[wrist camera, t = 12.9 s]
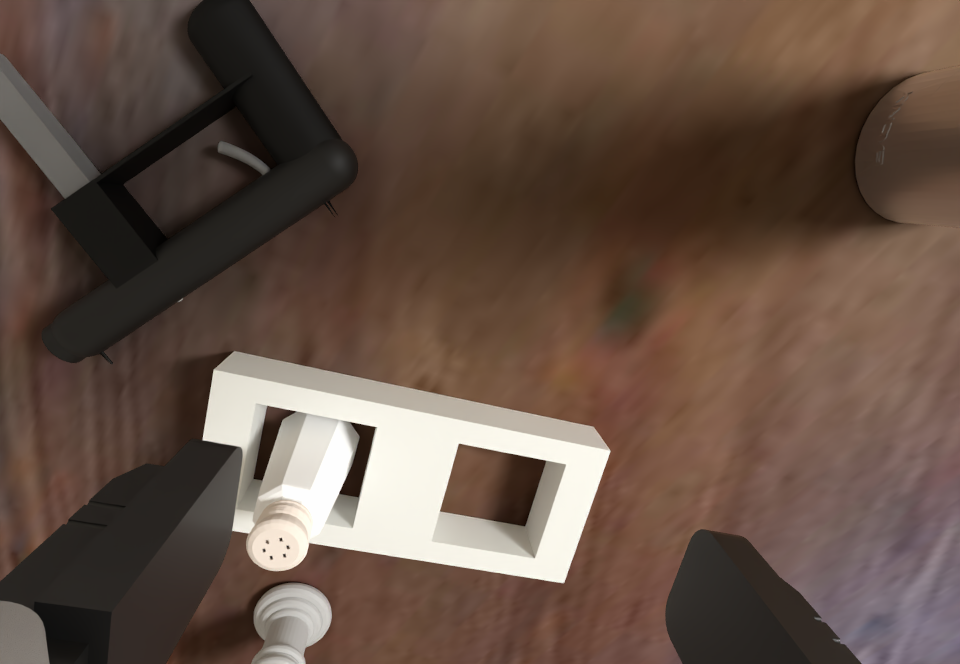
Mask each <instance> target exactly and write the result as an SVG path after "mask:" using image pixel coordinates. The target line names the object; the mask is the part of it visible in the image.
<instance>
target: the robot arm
mask: <svg viewBox="0 0 960 664" xmlns="http://www.w3.org/2000/svg"><path fill="white" fill-rule="evenodd" d="M855 171H856V179H857V183H858V186H859V190H860V192H861V194H862V196H863V197H864V199H865V201H866V203H867V204H868V205H869V206H870V207H871V208H872V209H873V210H874V211H875V212H876V213H877V214H879V215H881V216H882V217H884V218H886V219H888V220H892V221H895V222H898V223H909V224H921V225H933V226H944V227H955V228H960V65H958V66H953V67H948V68H944V69H939V70H935V71H930V72H926V73H921V74H919V75H916V76H913V77H911V78H908V79H906V80H905V81H903V82H901V83H900V84H898V85H897V86H895V87H894V88H892V89H891V90H890V91H889V92H888V93H887V94H886V95H885V96H884V97H883V98H882V99H881V100H880V101H879V102H878V104H877V105H876V106H875V108H874V109H873V110H872V112H871V113H870V115H869V117H868V118H867V120H866V122H865V124H864V126H863V128H862V131H861V134H860V137H859V140H858V144H857V149H856V157H855ZM242 458H243V452H242V448H241V447H238V446H233V445H227V444H221V443H216V442H210V441H204V440H199V439H191V440H190V441H189V442H188V443H187V444H186V445H185V446H184V447H183V448H182V449H181V450H180V451H179V452H178V453H177V454H176V455H175V456H174V457H173V458H172V459H171V460H170V461H169V462H168V463H167V464H166V465H165V466H159V465H153V464H145V465H142V466H140V467H138V468H136V469H134V470H131V471H129V472H127V473H125V474H123V475H120V476H118V477H116V478H114V479H112V480H111V481H110V482H109V483H108V484H107V485H106V486H105V487H104V488H102V489H101V490H100V491H99V492H98V493H97V494H96V495H95V496H94V497H93V498H91V499H90V500H89V503H88V505H84V506H83V507H82V508H80V509H79V510H78V511H77V512H76V513H75V514H74V515H73V516H72V517H71V518H69V520H68V523H67V524H66V525H65V524H63V525H62V526H61V527H60V528H59V529H57V530H56V531H55V532H54V533H53V534H52V535H51V536H50V537H49V538H48V539H46V540H45V541H44V542H43V543H42V544H41V545H40V546H39V547H38V548H37V549H35V550H34V551H33V552H32V553H31V554H30V555H29V556H28V557H27V558H26V559H24V560H23V561H22V562H21V563H20V564H19V565H18V566H17V567H16V568H15V569H14V570H12V571H11V572H10V573H9V574H8V575H7V576H6V577H5V578H4V579H3V580H1V581H0V664H166V662H167V661H168V659H169V657H170V655H171V653H172V652H173V650H174V648H175V646H176V645H177V643H178V641H179V639H180V638H181V636H182V634H183V632H184V631H185V629H186V627H187V625H188V624H189V622H190V620H191V618H192V617H193V615H194V613H195V611H196V609H197V608H198V606H199V604H200V602H201V601H202V599H203V597H204V595H205V594H206V592H207V590H208V588H209V587H210V585H211V583H212V581H213V580H214V578H215V576H216V574H217V572H218V571H219V569H220V567H221V564H222V562H223V560H224V557H225V554H226V551H227V548H228V545H229V542H230V538H231V533H232V528H233V522H234V515H235V508H236V501H237V494H238V487H239V480H240V473H241V466H242ZM666 626H667V631H668V634H669V637H670V639H671V641H672V643H673V645H674V647H675V649H676V651H677V653H678V655H679V657H680V659H681V661H682V663H683V664H861V662H860V661H859V660H858V659H857V658H856V657H855V656H854V654H853V653H852V652H851V651H850V650H849V649H848V648H847V646H846V645H844V644H840V638H839V637H838V636H837V635H836V634H835V633H834V632H833V630H832V629H831V628H830V627H829V626H828V625H827V624H826V623H824V622H821V617H820V616H819V614H818V613H817V612H816V611H815V610H814V609H813V608H812V606H811V605H810V604H809V603H808V602H807V601H806V600H805V598H804V597H803V596H802V595H801V594H800V593H799V592H798V591H797V590H795V589H794V588H793V587H792V586H790V585H789V584H788V583H787V582H785V581H784V580H783V579H782V578H780V577H779V576H778V575H777V574H776V572H775V571H774V570H773V569H772V568H771V567H770V565H769V564H768V563H767V562H766V561H765V560H764V558H763V557H762V556H761V555H760V554H759V553H758V551H757V550H756V549H755V548H754V547H753V546H752V544H751V543H750V542H749V541H748V540H747V539H746V538H744V537H742V536H738V535H733V534H727V533H721V532H715V531H710V530H702V529H701V530H698V531H697V532H696V533H695V534H694V535H693V536H692V538H691V540H690V542H689V545H688V547H687V550H686V553H685V555H684V558H683V560H682V563H681V566H680V568H679V571H678V573H677V576H676V578H675V581H674V584H673V586H672V589H671V591H670V594H669V597H668V600H667V604H666Z"/></svg>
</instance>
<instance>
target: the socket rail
mask: <svg viewBox="0 0 960 664" xmlns="http://www.w3.org/2000/svg"><path fill="white" fill-rule="evenodd" d="M267 406H272V407H277V408H282V409H287V410H292V411H297V412H302V413H307V414H313V415H318V416H323V417H328V418H333V419H338V420H343V421H348V422H353V423H358V424H363V425H368V426H373V427H376V428H375V432H374V436H373V441H372V445H371V449H370V453H369V457H368V461H367V466H366V470H365V474H364V478H363V482H362V487H361V491H360V495H359V497H354V496H348V495H342V494H338V496H337V499H336V501H335V503H334V505H333V507H332V509H331V511H330V514H329V516H328V518H327V520H326V522H325V524H324V526H323V528H322V530H321V532H320V533H319V534H318V535H317V536H315V537H313V538H311V539H310V540H309V543H313V544H320V545H326V546H332V547H339V548H345V549H351V550H357V551H364V552H370V553H376V554H383V555H389V556H395V557H402V558H408V559H414V560H421V561H427V562H433V563H440V564H446V565H452V566H459V567H465V568H471V569H477V570H484V571H490V572H496V573H503V574H509V575H515V576H522V577H528V578H534V579H541V580H547V581H553V582H560V583H564V581H565V579H566V576H567V573H568V570H569V567H570V564H571V562H572V559H573V556H574V553H575V550H576V547H577V545H578V542H579V539H580V536H581V533H582V530H583V527H584V525H585V522H586V519H587V516H588V513H589V510H590V508H591V505H592V502H593V499H594V496H595V493H596V491H597V488H598V485H599V482H600V479H601V476H602V474H603V471H604V468H605V465H606V462H607V459H608V457H609V454H610V449H609V448H608V447H607V445H606V444H605V442H604V441H603V440H602V438H601V437H600V435H599V434H598V432H597V431H596V430H595V428H594V427H591V426H587V425H582V424H577V423H572V422H568V421H563V420H558V419H553V418H549V417H544V416H539V415H535V414H530V413H525V412H520V411H516V410H511V409H506V408H501V407H497V406H492V405H487V404H482V403H478V402H473V401H468V400H463V399H459V398H454V397H449V396H445V395H440V394H435V393H430V392H426V391H421V390H416V389H411V388H407V387H402V386H397V385H392V384H388V383H383V382H378V381H374V380H369V379H364V378H359V377H355V376H350V375H345V374H340V373H336V372H331V371H326V370H321V369H317V368H312V367H307V366H302V365H298V364H293V363H288V362H284V361H279V360H274V359H269V358H265V357H260V356H255V355H250V354H246V353H241V352H236V351H234V352H233V353H232V354H231V355H229V356H228V357H227V358H226V359H225V360H224V361H223V362H222V363H221V364H219V365H218V366H217V367H216V368H215V369H214V371H213V377H212V384H211V390H210V396H209V403H208V409H207V415H206V421H205V428H204V434H203V440H204V441H210V442H216V443H221V444H227V445H233V446H238V447H241V448H242V452H243V458H242V466H241V473H240V480H239V487H238V494H237V501H236V508H235V515H234V522H233V528H232V531H237V532H244V533H250V532H251V530H252V528H253V527H254V526H255V524H254V523H253V521H252V520H253V515H254V510H255V506H256V502H257V498H258V495H259V491H260V487H261V484H262V480H257V479H253V478H254V473H255V468H256V462H257V457H258V452H259V446H260V441H261V436H262V430H263V425H264V420H265V414H266V409H267ZM459 443H460V444H465V445H470V446H475V447H480V448H485V449H490V450H495V451H500V452H505V453H510V454H515V455H521V456H526V457H531V458H536V459H541V460H546V464H545V467H544V470H543V473H542V476H541V479H540V482H539V485H538V489H537V492H536V495H535V498H534V501H533V504H532V507H531V510H530V513H529V516H528V519H527V523H526V526H520V525H514V524H509V523H503V522H497V521H491V520H486V519H480V518H474V517H468V516H463V515H457V514H451V513H446V512H440V508H441V505H442V501H443V498H444V494H445V491H446V487H447V483H448V480H449V476H450V473H451V469H452V466H453V462H454V458H455V455H456V451H457V448H458V444H459Z"/></svg>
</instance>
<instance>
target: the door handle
mask: <svg viewBox="0 0 960 664" xmlns="http://www.w3.org/2000/svg"><path fill="white" fill-rule="evenodd" d="M188 36H189V38H190V40H191V42H192V43H193V45H194V46H195V48H196V49H197V51H198V52H199V53H200V55H201V56H202V58H203V59H204V61H205V62H206V63H207V65H208V66H209V68H210V69H211V71H212V72H213V73H214V75H215V76H216V78H217V79H218V81H219V82H220V83H221V85H222V86H223V88H224V90H222V91H221V92H220V93H218V94H217V95H215V96H214V97H212V98H211V99H209V100H208V101H206V102H205V103H204V104H202V105H201V106H199V107H198V108H196V109H195V110H193V111H192V112H191V113H189V114H188V115H186V116H185V117H183V118H182V119H180V120H179V121H178V122H176V123H175V124H173V125H172V126H170V127H169V128H167V129H166V130H165V131H163V132H162V133H160V134H159V135H157V136H156V137H154V138H153V139H151V140H150V141H149V142H147V143H146V144H144V145H143V146H141V147H140V148H138V149H137V150H136V151H134V152H133V153H131V154H130V155H128V156H127V157H125V158H124V159H123V160H121V161H120V162H118V163H117V164H115V165H114V166H112V167H111V168H110V169H108V170H107V171H105V172H104V173H102V174H100V173H99V171H98V170H97V169H96V167H95V166H94V165H93V164H92V162H91V161H90V160H89V159H88V157H87V156H86V155H85V153H84V152H83V151H82V150H81V148H80V147H79V146H78V145H77V143H76V142H75V141H74V140H73V138H72V137H71V136H70V135H69V134H68V132H67V131H66V130H65V129H64V127H63V126H62V125H61V124H60V123H59V121H58V120H57V119H56V118H55V116H54V115H53V114H52V113H51V112H50V110H49V109H48V108H47V107H46V106H45V104H44V103H43V102H42V101H41V99H40V98H39V97H38V96H37V95H36V93H35V92H34V91H33V90H32V88H31V87H30V86H29V85H28V84H27V82H26V81H25V80H24V79H23V78H22V76H21V75H20V74H19V73H18V71H17V70H16V69H15V68H14V67H13V65H12V64H11V63H10V62H9V60H8V59H7V58H6V57H5V56H4V55H2V54H0V119H1V121H2V122H3V123H4V124H5V126H6V127H7V128H8V129H9V130H10V132H11V133H12V134H13V135H14V137H15V138H16V139H17V140H18V142H19V143H20V144H21V145H22V146H23V148H24V149H25V150H26V151H27V153H28V154H29V155H30V156H31V158H32V159H33V160H34V161H35V163H36V164H37V165H38V166H39V167H40V169H41V170H42V171H43V172H44V174H45V175H46V176H47V177H48V179H49V180H50V181H51V182H52V184H53V185H54V186H55V187H56V188H57V190H58V191H59V192H60V193H61V195H62V196H63V197H64V198H65V199H64V200H63V201H61V202H60V203H58V204H57V205H55V206H54V207H53V208H51V210H52V211H53V212H54V213H55V215H56V216H57V217H58V218H59V220H60V221H61V222H62V223H63V224H64V226H65V227H66V228H67V229H68V230H69V232H70V233H71V234H72V235H73V237H74V238H75V239H76V240H77V241H78V243H79V244H80V245H81V246H82V248H83V249H84V250H85V251H86V252H87V254H88V255H89V256H90V257H91V258H92V260H93V261H94V262H95V263H96V265H97V266H98V267H99V268H100V269H101V271H102V272H103V273H104V274H105V276H106V277H107V278H108V279H109V280H107V281H106V282H105V283H103V284H102V285H100V286H99V287H97V288H96V289H94V290H93V291H91V292H90V293H88V294H87V295H85V296H84V297H82V298H81V299H79V300H78V301H76V302H75V303H74V304H72V305H71V306H69V307H68V308H66V309H65V310H63V311H62V312H60V313H59V314H58V315H57V316H56V318H55V319H54V321H53V323H51V324H50V325H48V326H47V327H45V328H44V329H43V331H42V340H43V342H44V344H45V346H46V347H47V349H48V350H49V351H50V352H51V353H52V354H54V355H55V356H56V357H58V358H59V359H61V360H64V361H66V362H70V363H77V362H80V361H81V360H83V359H84V358H86V357H90V356H94V355H97V354H101V355H102V356H103V357H104V358H105V359H106V360H108V361H109V362H110V364H113V362H112V361H111V360H110V359H109V358H108V356H107V355H106V354H105V353H104V352H103V351H105V350H106V349H108V348H109V347H111V346H112V345H113V344H115V343H116V342H118V341H119V340H121V339H122V338H124V337H125V336H127V335H128V334H130V333H131V332H133V331H134V330H136V329H137V328H139V327H140V326H142V325H143V324H145V323H146V322H148V321H149V320H151V319H152V318H154V317H155V316H157V315H158V314H160V313H161V312H163V311H164V310H166V309H167V308H169V307H170V306H172V305H173V304H175V303H176V302H180V301H182V300H183V298H184V297H185V296H187V295H188V294H190V293H191V292H193V291H194V290H196V289H197V288H199V287H200V286H202V285H203V284H205V283H206V282H208V281H209V280H211V279H212V278H214V277H215V276H217V275H218V274H220V273H221V272H223V271H224V270H226V269H227V268H229V267H230V266H232V265H233V264H235V263H236V262H238V261H239V260H241V259H242V258H243V257H245V256H246V255H248V254H249V253H251V252H252V251H254V250H255V249H257V248H258V247H260V246H261V245H263V244H264V243H266V242H267V241H269V240H270V239H272V238H273V237H275V236H276V235H278V234H279V233H281V232H282V231H284V230H285V229H287V228H288V227H290V226H291V225H293V224H294V223H296V222H297V221H299V220H300V219H302V218H303V217H305V216H306V215H308V214H309V213H311V212H312V211H314V210H315V209H317V208H318V207H320V206H321V205H323V204H325V205H326V207H327V208H328V209H329V211H330V212H331V210H330V208H329V207H328V205H327V204H326V202H328V203H329V205H330V206H331V207H332V209H333V210H334V208H333V206H332V205H331V203H330V201H329V200H330V199H332V198H333V197H335V196H336V195H338V194H339V193H341V192H342V191H344V190H345V189H347V188H348V187H349V186H350V185H351V184H352V183H353V182H354V180H355V178H356V175H357V171H358V162H357V158H356V155H355V153H354V151H353V150H352V149H351V147H350V146H349V145H348V144H347V143H345V142H344V141H343V140H342V139H341V137H340V136H339V134H338V133H337V131H336V130H335V128H334V127H333V125H332V124H331V122H330V121H329V119H328V118H327V116H326V115H325V113H324V112H323V110H322V109H321V107H320V106H319V104H318V103H317V101H316V100H315V98H314V97H313V95H312V94H311V92H310V91H309V89H308V88H307V86H306V85H305V83H304V82H303V80H302V79H301V77H300V76H299V74H298V73H297V71H296V70H295V68H294V67H293V65H292V64H291V62H290V61H289V59H288V58H287V56H286V55H285V53H284V52H283V50H282V49H281V47H280V46H279V44H278V42H277V41H276V39H275V38H274V36H273V35H272V33H271V32H270V30H269V29H268V27H267V26H266V24H265V23H264V21H263V20H262V18H261V17H260V15H259V14H258V12H257V11H256V9H255V8H254V6H253V5H252V3H251V2H250V1H249V0H203V1H202V2H201V3H200V4H199V5H198V6H197V7H196V8H195V9H194V11H193V12H192V14H191V16H190V18H189V21H188ZM236 106H237V108H238V109H239V110H240V112H241V113H242V115H243V116H244V118H245V119H246V120H247V122H248V123H249V125H250V126H251V128H252V129H253V130H254V132H255V133H256V135H257V136H258V138H259V139H260V140H261V142H262V143H263V145H264V146H265V148H266V149H267V150H268V152H269V153H270V155H271V156H272V158H273V159H274V160H275V162H276V163H277V166H276V167H274V168H273V169H270V168H269V167H268V166H267V165H266V164H265V163H263V162H262V161H261V160H260V159H258V158H257V157H255V156H254V155H252V154H251V153H249V152H247V151H245V150H243V149H241V148H239V147H237V146H234V145H232V144H229V143H226V142H223V141H220V142H219V144H218V153H221V154H224V155H227V156H230V157H232V158H235V159H237V160H239V161H242V162H244V163H245V164H247V165H249V166H251V167H252V168H254V169H255V170H257V171H258V172H260V173H261V174H262V176H261V177H259V178H258V179H257V180H255V181H254V182H252V183H251V184H249V185H248V186H246V187H245V188H243V189H242V190H240V191H239V192H237V193H236V194H234V195H233V196H231V197H230V198H228V199H227V200H226V201H224V202H223V203H221V204H220V205H218V206H217V207H215V208H214V209H212V210H211V211H209V212H208V213H206V214H205V215H203V216H202V217H200V218H199V219H197V220H196V221H195V222H193V223H192V224H190V225H189V226H187V227H186V228H184V229H183V230H181V231H180V232H178V233H177V234H175V235H174V236H172V237H171V238H169V239H167V238H166V237H165V236H164V235H163V233H162V232H161V231H160V230H159V228H158V227H157V226H156V225H155V223H154V222H153V221H152V220H151V219H150V217H149V216H148V215H147V214H146V212H145V211H144V210H143V209H142V207H141V206H140V205H139V204H138V203H137V201H136V200H135V199H134V198H133V196H132V195H131V194H130V193H129V192H128V190H127V189H126V188H125V187H124V185H123V184H124V183H125V182H127V181H128V180H130V179H131V178H133V177H134V176H136V175H137V174H139V173H140V172H141V171H143V170H144V169H146V168H147V167H149V166H150V165H152V164H153V163H155V162H156V161H157V160H159V159H160V158H162V157H163V156H165V155H166V154H168V153H169V152H171V151H172V150H173V149H175V148H176V147H178V146H179V145H181V144H182V143H184V142H185V141H186V140H188V139H189V138H191V137H192V136H194V135H195V134H197V133H198V132H200V131H201V130H202V129H204V128H205V127H207V126H208V125H210V124H211V123H213V122H214V121H216V120H217V119H218V118H220V117H221V116H223V115H224V114H226V113H227V112H229V111H230V110H232V109H233V108H234V107H236ZM334 211H335V210H334ZM331 213H332V212H331ZM335 213H336V211H335ZM332 214H333V213H332ZM336 214H337V213H336ZM337 215H338V214H337ZM333 216H334V215H333Z"/></svg>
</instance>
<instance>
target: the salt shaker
mask: <svg viewBox="0 0 960 664" xmlns="http://www.w3.org/2000/svg"><path fill="white" fill-rule="evenodd" d="M359 438H360V436H359V435H358V433H357V432H356V431H355V429H354V428H353V426H352V425H351V423H350V422H348V421H343V420H338V419H333V418H328V417H323V416H318V415H313V414H307V413H302V412H296V413H294V414H292V415H290V416H288V417H286V418H285V419H283V420H282V423H281V426H280V429H279V432H278V435H277V438H276V441H275V444H274V448H273V451H272V454H271V457H270V460H269V463H268V466H267V469H266V472H265V475H264V478H263V481H262V484H261V487H260V491H259V495H258V498H257V502H256V506H255V510H254V515H253V520H252V521H253V523H254V524H255V526H254V527H253V528H252V530H251V532H250V533H249V535H248V537H247V541H246V548H247V552H248V554H249V557H250V558H251V559H252V560H253V562H254V563H256V564H257V565H258V566H260V567H262V568H264V569H266V570H271V571H284V570H288V569H291V568H293V567H295V566H297V565H298V564H299V563H300V562H301V561H302V560H303V559H304V557H305V556H306V554H307V550H308V546H309V540H310V539H311V538H313V537H315V536H317V535H318V534H319V533H320V532H321V530H322V528H323V526H324V524H325V522H326V520H327V518H328V516H329V514H330V511H331V509H332V507H333V505H334V503H335V501H336V499H337V496H338V494H339V492H340V490H341V488H342V486H343V483H344V481H345V479H346V477H347V475H348V473H349V471H350V468H351V466H352V464H353V460H354V456H355V453H356V449H357V445H358V442H359Z"/></svg>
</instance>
